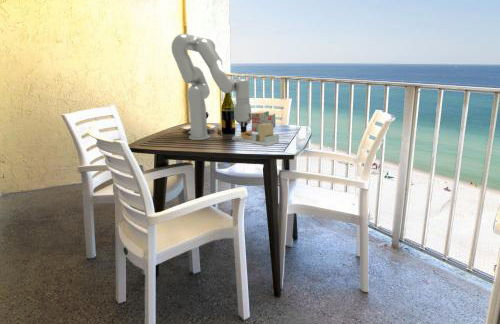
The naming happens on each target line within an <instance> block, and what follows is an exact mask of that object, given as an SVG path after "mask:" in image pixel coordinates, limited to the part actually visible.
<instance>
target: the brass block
mask: <svg viewBox="0 0 500 324" xmlns="http://www.w3.org/2000/svg"><path fill="white" fill-rule="evenodd" d="M257 134H258V141H262V142H264V137H267V136H271V135H274V128H273V124H271V123H264V124H259V125H258V132H257Z"/></svg>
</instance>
